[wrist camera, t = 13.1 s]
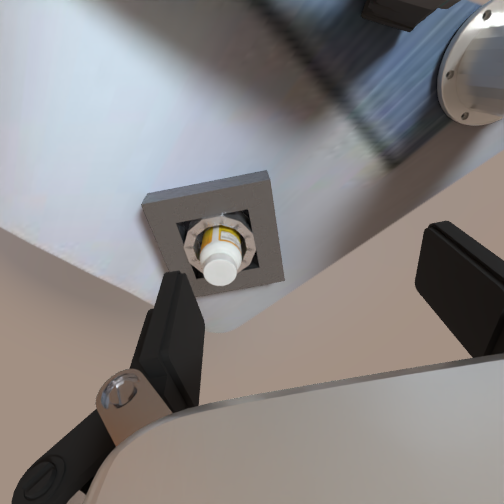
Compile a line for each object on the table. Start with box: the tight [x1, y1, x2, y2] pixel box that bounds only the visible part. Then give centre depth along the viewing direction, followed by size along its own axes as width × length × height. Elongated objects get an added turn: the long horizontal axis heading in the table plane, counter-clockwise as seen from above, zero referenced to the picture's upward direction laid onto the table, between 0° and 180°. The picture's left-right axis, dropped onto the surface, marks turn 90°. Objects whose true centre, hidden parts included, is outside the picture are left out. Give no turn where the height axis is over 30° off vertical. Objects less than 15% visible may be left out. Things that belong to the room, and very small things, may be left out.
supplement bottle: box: [200, 225, 242, 286], centre depth 39 cm, size 5×5×10 cm
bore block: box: [141, 170, 285, 297], centre depth 41 cm, size 16×16×4 cm
